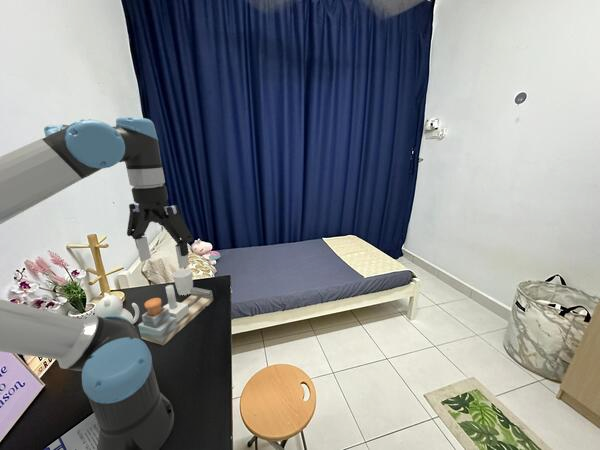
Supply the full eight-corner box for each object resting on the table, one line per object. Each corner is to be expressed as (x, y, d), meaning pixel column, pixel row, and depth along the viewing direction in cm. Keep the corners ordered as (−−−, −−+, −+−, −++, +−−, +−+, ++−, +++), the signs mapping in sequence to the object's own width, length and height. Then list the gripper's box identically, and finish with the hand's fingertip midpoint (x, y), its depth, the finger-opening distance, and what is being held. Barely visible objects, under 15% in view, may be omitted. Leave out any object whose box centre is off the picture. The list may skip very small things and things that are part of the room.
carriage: (177, 322, 91) (171, 292, 88) (160, 317, 94) (154, 289, 90) (189, 312, 97) (183, 284, 93) (173, 308, 99) (167, 280, 95)
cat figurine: (102, 328, 93) (90, 294, 89) (141, 314, 101) (131, 282, 96) (102, 342, 87) (89, 306, 82) (143, 326, 94) (134, 293, 89)
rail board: (163, 345, 85) (157, 321, 82) (141, 338, 88) (135, 315, 85) (213, 300, 109) (210, 280, 106) (194, 296, 112) (191, 277, 109)
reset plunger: (156, 325, 84) (152, 307, 82) (145, 322, 86) (140, 304, 84) (168, 316, 89) (164, 299, 87) (157, 313, 90) (153, 296, 88)
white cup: (176, 289, 118) (173, 271, 115) (194, 285, 121) (191, 267, 118) (176, 298, 111) (172, 278, 108) (195, 293, 114) (192, 274, 111)
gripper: (200, 185, 61) (211, 262, 67) (126, 181, 68) (142, 252, 75) (176, 190, 54) (191, 276, 60) (98, 186, 62) (118, 262, 68)
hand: (164, 262), depth 68 cm, fingers open, 13 cm apart
